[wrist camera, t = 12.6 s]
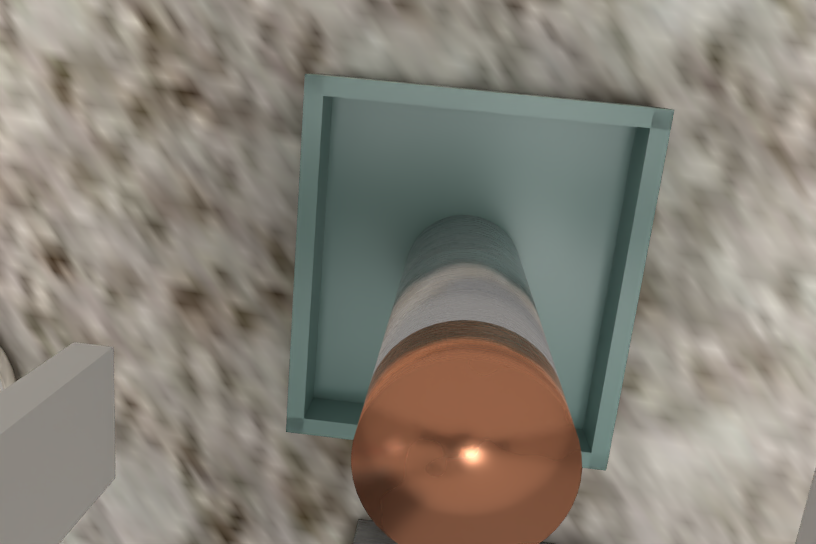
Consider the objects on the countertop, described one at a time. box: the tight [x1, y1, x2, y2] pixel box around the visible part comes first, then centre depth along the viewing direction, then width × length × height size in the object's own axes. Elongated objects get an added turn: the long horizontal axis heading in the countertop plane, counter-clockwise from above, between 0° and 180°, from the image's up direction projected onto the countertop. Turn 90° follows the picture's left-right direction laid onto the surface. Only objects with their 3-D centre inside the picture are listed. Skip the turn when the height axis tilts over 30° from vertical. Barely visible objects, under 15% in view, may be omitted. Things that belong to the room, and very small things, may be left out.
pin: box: [351, 215, 582, 544], centre depth 19 cm, size 4×4×13 cm
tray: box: [286, 74, 674, 470], centre depth 25 cm, size 11×12×2 cm
